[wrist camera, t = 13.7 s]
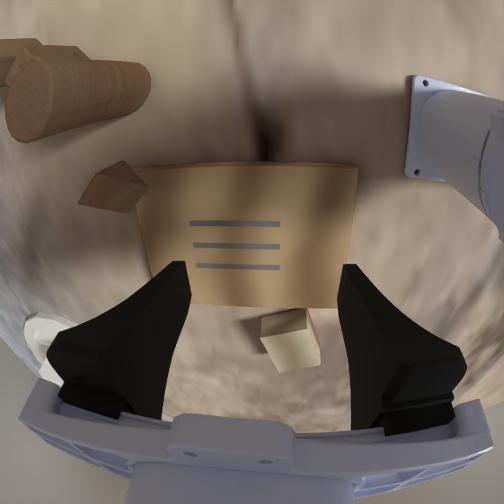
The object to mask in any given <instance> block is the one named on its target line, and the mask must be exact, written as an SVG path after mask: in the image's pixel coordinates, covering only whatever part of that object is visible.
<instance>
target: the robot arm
mask: <svg viewBox="0 0 504 504" xmlns="http://www.w3.org/2000/svg"><path fill="white" fill-rule="evenodd" d="M424 80H425V81H426V86H424V85H423V81H424ZM416 169H418V173H417V174H414V172H415V170H416ZM404 172H405V174H406V175H407V176H408V177H410V178H417V179H425V180H433V181H441V182H447V183H449V184H450V185H451V186H452V187H454V188H455V189H456V190H457V191H458V192H460V193H461V194H462V195H463V196H464V197H466V198H467V199H468V200H469V201H470V202H471V203H472V204H474V205H475V206H476V207H477V208H478V209H479V210H480V211H481V212H483V213H484V214H485V215H486V216H487V217H488V218H489V219H490V220H491V221H492V222H493V223H494V224H495V225H496V226H497V228H498V232H499V239H500V240H501V241H502V242H503V243H504V101H502V100H499V99H495V98H492V97H489V96H487V95H484V94H481V93H478V92H476V91H473V90H470V89H467V88H464V87H460V86H457V85H454V84H451V83H447V82H444V81H440V80H436V79H432V78H428V77H424V76H420V75H415V76H414V77H413V78H412V94H411V111H410V124H409V135H408V145H407V154H406V161H405V169H404ZM191 297H192V293H191V288H190V283H189V278H188V273H187V268H186V262H185V261H172V262H171V263H169V264H168V265H167V266H166V267H165V268H164V269H163V270H161V271H160V272H159V273H158V274H157V275H156V276H155V277H153V278H152V279H151V280H150V281H149V282H148V283H146V284H145V285H144V286H143V287H141V288H140V289H139V290H138V291H136V292H135V293H134V294H133V295H131V296H130V297H129V298H127V299H126V300H124V301H123V302H121V303H120V304H118V305H117V306H115V307H114V308H112V309H110V310H108V311H106V312H105V313H103V314H101V315H99V316H97V317H95V318H93V319H91V320H89V321H87V322H84V323H82V324H80V325H77V326H74V327H71V328H68V329H66V330H63V331H59V332H58V334H57V335H56V337H55V338H54V340H53V342H52V343H51V345H50V346H49V348H48V350H47V351H46V356H47V359H48V362H49V363H50V365H51V366H52V368H53V369H54V370H55V372H56V373H57V374H58V375H59V377H60V378H61V379H62V380H63V382H64V383H63V385H62V387H60V386H59V385H57V384H55V383H53V382H50V381H48V380H45V379H42V378H38V380H37V382H36V384H35V386H34V388H33V390H32V391H31V394H30V395H29V397H28V399H27V401H26V404H25V405H24V407H23V409H22V411H21V413H20V415H19V417H18V418H19V420H20V421H21V422H22V423H23V424H25V425H26V426H27V427H28V428H29V429H30V430H32V431H33V432H34V433H35V434H37V435H38V436H39V437H40V438H42V439H43V440H44V441H45V442H47V443H48V444H50V445H52V446H54V447H57V448H58V449H60V450H63V451H65V452H67V453H69V454H71V455H73V456H75V457H77V458H79V459H81V460H84V461H86V462H88V463H90V464H93V465H95V466H97V467H100V468H102V469H105V470H107V471H110V472H112V473H115V474H118V475H120V476H123V477H126V478H128V479H130V482H129V486H128V490H127V493H126V497H125V501H124V504H354V499H356V498H362V497H366V496H372V495H377V494H381V493H386V492H390V491H394V490H398V489H401V488H405V487H409V486H412V485H416V484H419V483H422V482H426V481H428V480H432V479H435V478H438V477H441V476H444V475H447V474H450V473H453V472H456V471H458V470H461V469H463V468H465V467H466V466H468V465H469V464H471V463H472V462H474V461H476V460H477V459H479V458H480V457H481V456H483V455H484V454H486V453H487V452H489V451H490V450H491V449H493V447H494V445H493V442H492V437H491V434H490V430H489V427H488V424H487V420H486V417H485V414H484V411H483V408H482V405H481V402H480V399H476V400H473V401H469V402H465V403H462V404H459V405H457V406H455V407H454V408H453V406H452V403H451V401H453V400H454V395H453V392H452V391H453V390H454V388H455V387H456V386H457V385H458V383H459V382H460V381H461V380H462V378H463V377H464V375H465V373H466V370H467V364H466V362H465V359H464V357H463V355H462V352H461V350H460V348H459V347H457V346H455V345H453V344H451V343H449V342H447V341H445V340H443V339H441V338H439V337H437V336H435V335H434V334H432V333H430V332H428V331H427V330H425V329H424V328H422V327H421V326H419V325H418V324H416V323H415V322H414V321H412V320H411V319H410V318H408V317H407V316H406V315H405V314H403V313H402V312H401V311H400V310H399V309H397V308H396V307H395V306H394V305H393V304H392V303H391V302H390V301H389V300H388V299H387V298H386V297H385V296H384V295H383V294H382V293H381V292H380V291H379V290H378V289H377V288H376V287H375V286H374V284H373V283H372V282H371V281H370V280H369V279H368V278H367V276H366V275H365V274H364V273H363V272H362V271H361V269H360V268H359V267H358V266H357V265H356V264H343V267H342V273H341V279H340V284H339V290H338V295H337V305H338V314H339V320H340V325H341V329H342V334H343V338H344V343H345V347H346V352H347V357H348V363H349V374H350V389H351V431H339V432H320V433H295V432H294V430H293V428H292V427H291V426H289V425H287V424H284V423H282V422H279V421H271V420H260V419H243V418H230V417H220V416H210V415H202V414H185V413H184V414H181V415H179V416H176V417H174V418H173V422H167V421H162V420H161V418H162V409H163V402H164V395H165V389H166V383H167V378H168V373H169V369H170V364H171V360H172V356H173V353H174V349H175V347H176V344H177V341H178V338H179V336H180V333H181V330H182V328H183V325H184V322H185V320H186V317H187V314H188V310H189V306H190V301H191Z"/></svg>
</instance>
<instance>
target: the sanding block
mask: <svg viewBox="0 0 504 504" xmlns="http://www.w3.org/2000/svg"><path fill="white" fill-rule="evenodd" d="M261 318H262V323H261V333H260V339H261V341H262V343H263V344H264V346H265V348H266V350H267V351H268V353H269V355H270V357H271V359H272V360H273V362H274V364H275V366H276V367H277V369H278V371H279V372H284V371H290V370H296V369H302V368H307V367H313V366H318V365H321V363H320V349H319V345H320V343H319V340H318V337H317V335H316V332H315V329H314V326H313V323H312V320H311V317H310V314H309V312H308V309H307V308H294V309H290V310H285V311H281V312H276V313H272V314H267V315H262V317H261Z"/></svg>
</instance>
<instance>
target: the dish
mask: <svg viewBox="0 0 504 504" xmlns="http://www.w3.org/2000/svg"><path fill="white" fill-rule="evenodd" d="M77 325H79V324H76V323H74V322H72V321H69V320H67V319H65V318H62V317H60V316H58V315H52V314H45V313H37V314H35V315H33V316H31V317H29V318H28V319H27V321H26V323H25V327H24V335H25V338H26V341H27V344H28V346H29V347H30V349H31V351H32V352H33V354H34V355H35V357H36V358H37V359H38V361H39V362H40V363H41V364H42V367H41V369H40V371H39V374H40V375H41V377H42V379H45V380H48V381H50V382H53V383H55V384H57V385H59V386H60V387H62V385H63V383H64V382H63V380H62V379H61V378H60V377H59V375H58V374H57V373H56V372H55V370H54V369H53V368H52V366H51V365H50V363H49V362H48V359H47V356H46V351H47V350H48V348H49V346H50V345H51V343H52V342H53V340H54V338H55V337H56V335H57V334H58V332H59V331H63V330H66V329H68V328H71V327H74V326H77Z"/></svg>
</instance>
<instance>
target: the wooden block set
mask: <svg viewBox="0 0 504 504" xmlns="http://www.w3.org/2000/svg"><path fill="white" fill-rule="evenodd" d="M3 86H8V87H9V91H8V94H7V99H6V105H5V118H6V123H7V127H8V130H9V132H10V134H11V136H12V137H13V138H14V139H15V140H17V141H19V142H23V143H30V142H33V141H36V140H39V139H42V138H45V137H48V136H51V135H54V134H57V133H60V132H63V131H66V130H69V129H73V128H76V127H80V126H83V125H87V124H90V123H94V122H98V121H102V120H106V119H110V118H114V117H119V116H123V115H128V114H131V113H132V112H134V111H136V110H137V109H138V108H139V107H140V106H142V105H143V103H144V101H145V100H146V98H147V97H148V94H149V91H150V87H151V79H150V75H149V72H148V71H147V69H146V68H145V67H144V66H143V65H141V64H139V63H133V62H122V61H108V60H90V59H89V58H88V57H87V56H86V55H85V54H84V53H83V52H82V51H81V50H80V49H79V48H78V47H76V46H54V45H42V44H41V43H40V42H39V41H38V40H37V39H35V38H29V39H0V87H3ZM149 189H150V187H149V186H148V185H147V184H146V183H145V182H144V181H143V180H142V179H141V178H140V177H139V176H138V175H137V174H136V173H135V172H134V171H133V170H132V168H131V167H130V166H129V165H128V164H127V163H126V162H125V161H124V160H122V161H120V162H118V163H116V164H114V165H112V166H110V167H108V168H106V169H104V170H102V171H100V172H98V173H96V175H95V176H94V178H93V180H92V181H91V183H90V184H89V186H88V187H87V189H86V191H85V192H84V194H83V195H82V197H81V199H80V200H79V202H78V204H79V205H85V206H90V207H95V208H101V209H106V210H112V211H117V212H122V213H127V214H128V213H129V212H130V211H131V210H132V209H133V207H134V206H135V205H136V204H137V203H138V202H139V200H140V199H141V198H142V197H143V196H144V194H145V193H146V192H147V191H148V190H149Z"/></svg>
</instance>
